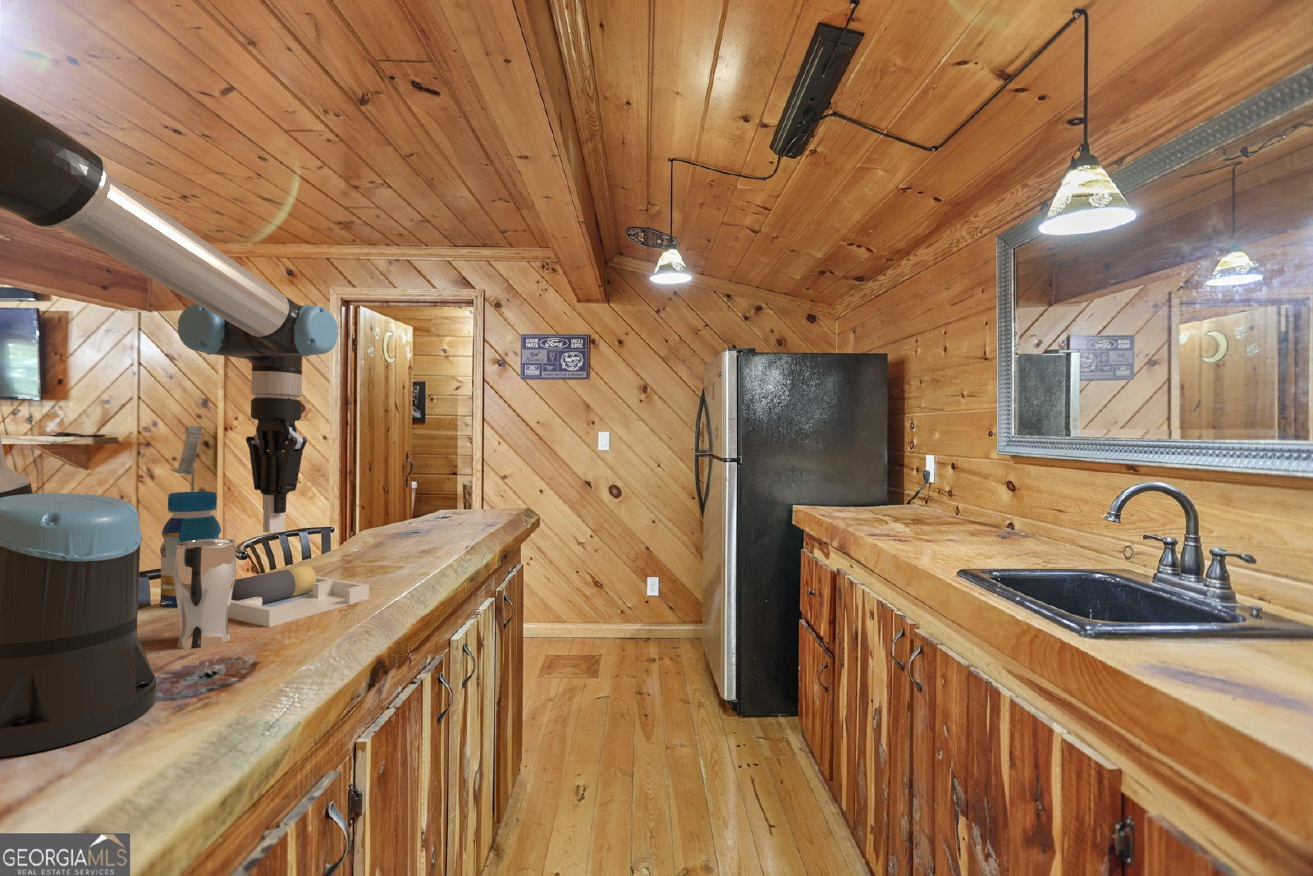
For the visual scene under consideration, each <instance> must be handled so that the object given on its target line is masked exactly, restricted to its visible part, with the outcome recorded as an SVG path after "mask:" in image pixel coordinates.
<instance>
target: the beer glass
mask: <svg viewBox="0 0 1313 876" xmlns="http://www.w3.org/2000/svg"><path fill="white" fill-rule="evenodd" d="M236 575H237V555H236V540H235V539H232V538H219V539H203V540H193V541H187V542H182V543H179V544H177V551H176V558H175V567H174V586H175V594H176V599H177V604H178V608H177V609H178V613H179V619H180V630H179V631H180V633H179V637H178V641H177V644H176V645H177V647H178V648H180V649H186V650H191V649H192V650H193V649H202V648H208V647H212V646H217V645H221V644H223V643H225V642H228V641H229V640H230V638H231V635H230V631H229V622H228V621H229V618H228V613H229V608H230V603H231V599H232V594H233V590H234V585H235V580H236V579H237V578H236V577H237V576H236Z"/></svg>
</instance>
